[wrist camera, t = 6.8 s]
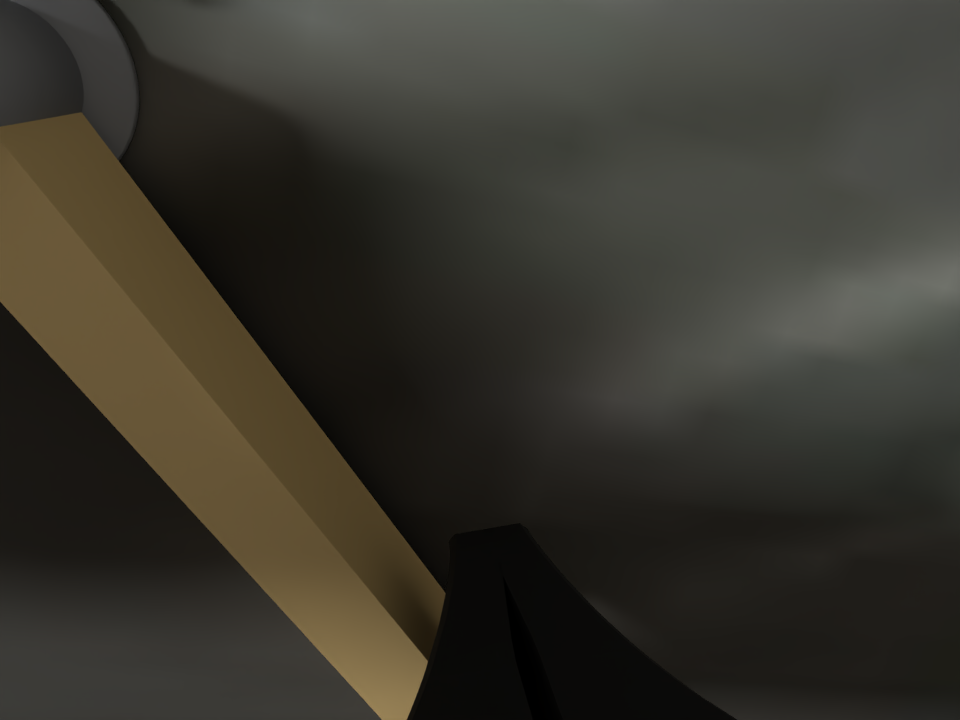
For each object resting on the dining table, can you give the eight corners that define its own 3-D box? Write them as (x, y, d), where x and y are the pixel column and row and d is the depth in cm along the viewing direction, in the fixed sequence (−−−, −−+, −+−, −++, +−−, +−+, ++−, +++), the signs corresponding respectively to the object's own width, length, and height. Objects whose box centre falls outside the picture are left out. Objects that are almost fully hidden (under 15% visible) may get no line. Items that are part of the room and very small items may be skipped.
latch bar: (-122, 45, 9) (-329, 40, 6) (8, -36, 9) (-149, -80, 6) (495, 773, 16) (521, 920, 13) (573, 732, 16) (616, 872, 13)
